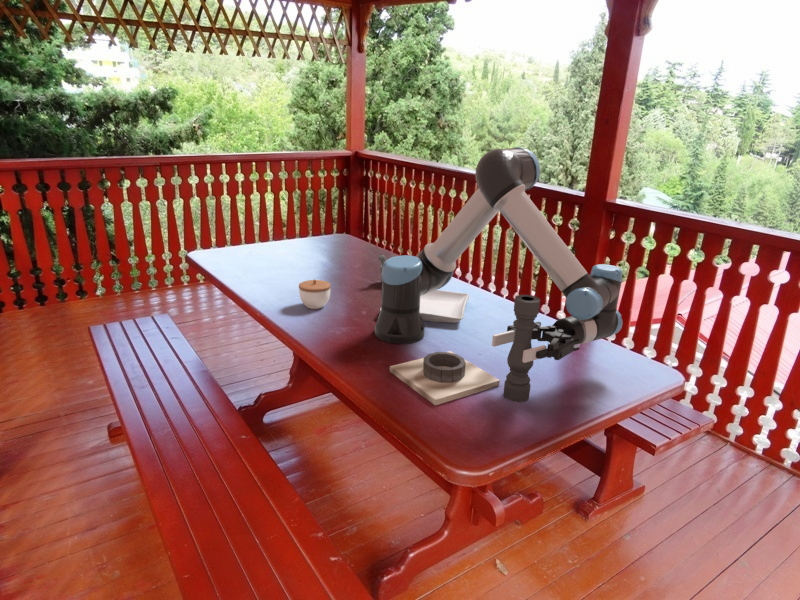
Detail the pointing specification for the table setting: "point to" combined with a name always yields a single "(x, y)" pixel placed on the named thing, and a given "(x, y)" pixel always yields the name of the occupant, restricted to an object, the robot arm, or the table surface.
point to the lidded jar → (314, 293)
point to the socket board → (443, 388)
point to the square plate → (443, 306)
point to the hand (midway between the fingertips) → (508, 348)
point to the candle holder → (521, 348)
